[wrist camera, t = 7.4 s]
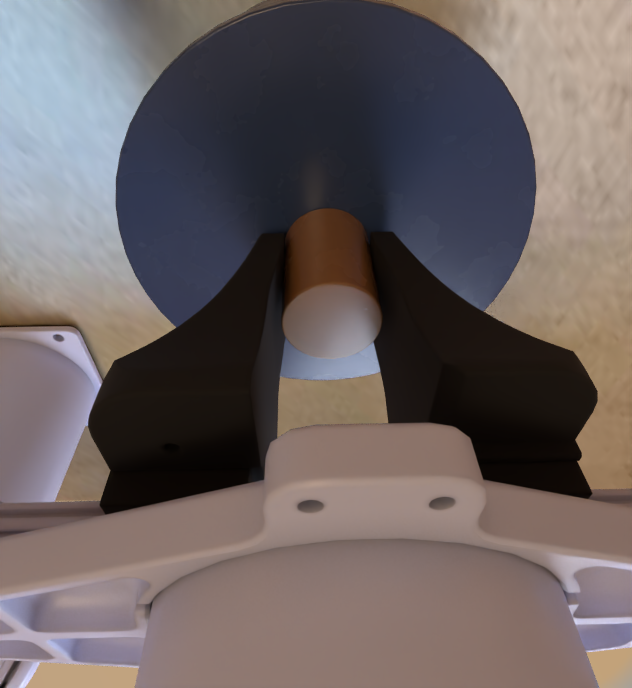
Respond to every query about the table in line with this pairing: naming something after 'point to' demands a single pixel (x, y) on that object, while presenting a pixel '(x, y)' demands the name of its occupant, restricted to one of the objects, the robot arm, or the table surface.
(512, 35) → the table surface
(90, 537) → the robot arm
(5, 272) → the table surface
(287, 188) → the lid
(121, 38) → the table surface
